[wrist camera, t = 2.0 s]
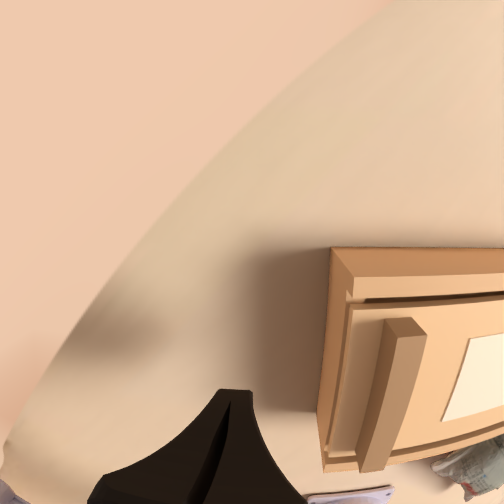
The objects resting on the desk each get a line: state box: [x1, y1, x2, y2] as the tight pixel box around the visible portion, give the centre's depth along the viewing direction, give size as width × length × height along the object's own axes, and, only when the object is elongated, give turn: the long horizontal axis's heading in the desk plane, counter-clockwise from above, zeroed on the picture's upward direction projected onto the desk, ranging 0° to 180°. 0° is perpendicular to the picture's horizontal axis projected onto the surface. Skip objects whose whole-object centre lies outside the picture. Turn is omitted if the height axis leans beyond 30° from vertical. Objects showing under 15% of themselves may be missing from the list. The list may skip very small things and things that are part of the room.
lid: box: [327, 295, 504, 473], centre depth 11 cm, size 8×15×2 cm, turn 91°
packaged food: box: [431, 433, 504, 502], centre depth 16 cm, size 9×12×5 cm
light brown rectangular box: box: [316, 247, 504, 473], centre depth 14 cm, size 11×15×5 cm
